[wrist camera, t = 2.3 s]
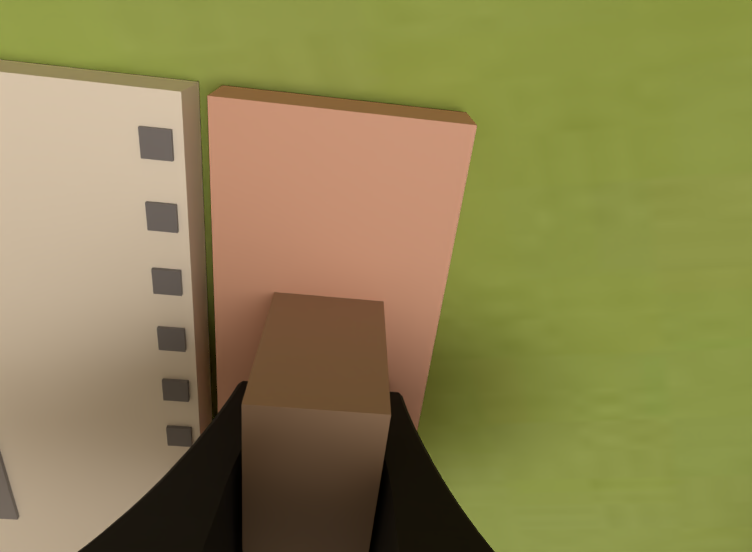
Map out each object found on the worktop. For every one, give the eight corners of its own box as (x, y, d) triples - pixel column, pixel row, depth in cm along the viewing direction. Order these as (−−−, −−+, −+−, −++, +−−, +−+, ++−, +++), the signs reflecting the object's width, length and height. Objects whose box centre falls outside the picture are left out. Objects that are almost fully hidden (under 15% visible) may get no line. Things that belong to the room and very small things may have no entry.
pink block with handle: (385, 546, 18) (393, 721, 13) (231, 538, 17) (189, 716, 13) (465, 112, 11) (529, 187, 7) (222, 85, 11) (133, 147, 7)
